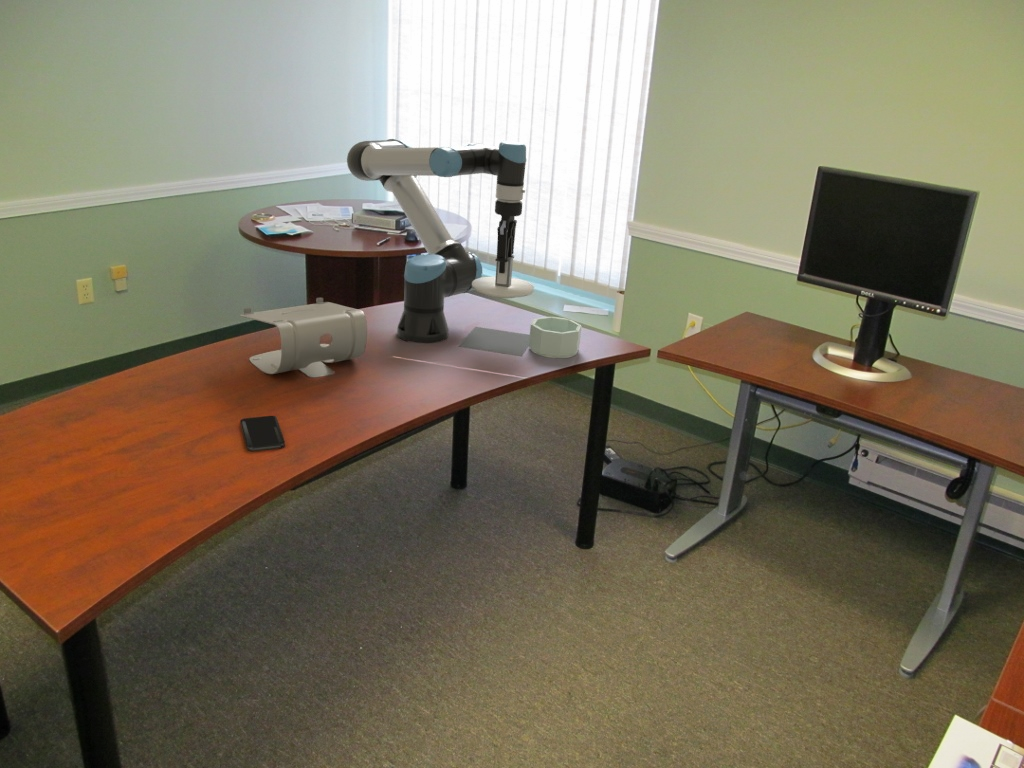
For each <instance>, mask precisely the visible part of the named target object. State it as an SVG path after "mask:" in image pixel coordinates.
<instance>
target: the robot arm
mask: <svg viewBox="0 0 1024 768" xmlns="http://www.w3.org/2000/svg"><path fill="white" fill-rule="evenodd" d="M346 163H347V164H346V165H347V168H348V170H349V172H350V173H351V174H352V175H353V176H354V177H355V178H357V179H359V180H361V181H365V182H366V181H367V182H370V181H379V182H380V183H381V185H382V186H383V189H384V190H385V191H386V192H391V193H392V194H393V196H394V198H395V199H396V202H398V204H399V206H400V207H401V210H402V211H403V213H404V216H406V218H407V220H408V221H409V224H411V226H412V228H413V230H414V231H415V233H416V235H417V237H418V238H419V240H420V242H421V244H422V245H423V246H424V249H425V251H426V252H427V254H423V253H422V254H418V255H415V256H412V257H410V258H409V259H408V260H407V261H406V263H405V267H404V273H403V277H404V278H403V279H404V280H403V281H404V282H403V283H404V285H403V288H404V289H403V293H404V295H403V296H404V297H403V311H402V313H401V316H400V319H399V322H398V324H397V331H396V333H397V334H396V335H397V337H398V338H400V339H401V340H403V341H405V342H410V343H417V344H434V343H439V342H442V341H445V340H447V339H448V337H449V327H448V323H447V319H446V316H445V312H444V311H445V310H444V309H445V308H444V307H445V306H444V305H445V298H450V297H454V296H457V295H461V294H466V293H468V292H471V291H474V289H473V288H472V282H473V281H474V280H475V279H478V278H482V274H483V266H482V262H481V260H480V258H479V257H478V256H477V254H475V253H472V252H470V251H466V249H465V248H464V247H463V245H462V243H461V242H458V241H455V240H454V239H453V237H452V236H451V233H450V232H449V231H448V229H447V228H446V225H445V224H444V223H443V220H442V219H441V217H440V216H439V213H438V212H437V210H436V209H435V207H434V205H433V204H432V202H431V201H430V199H429V197H428V196H427V194H426V192H425V190H424V189H423V187H422V185H421V183H420V182H419V180H418V179H417V176H423V177H424V176H427V177H429V176H431V177H432V176H433V177H434V176H437V177H440V178H452V177H457V176H469V175H477V174H487V175H490V176H491V175H493V176H496V187H495V189H496V190H495V198H496V200H495V204H494V212H495V214H496V215H498V216H501V219H500V220H499V222H498V226H497V229H496V230H497V243H496V244H497V245H496V246H497V247H496V248H497V249H496V258H495V262H497V261H498V273H497V283H499V284H507V271H508V262H507V258H508V257H512V258H513V259H514V258H515V255H514V248H515V241H516V240H515V239H516V238H515V237H516V228H517V223H518V221H517V220H516V219H515V217H520V216H521V215H522V213H523V202H522V201H523V199H524V198H523V197H524V194H525V193H526V189H524V185H525V184H524V183H525V173H526V164H527V146H526V145H525V144H524V143H523V142H518V141H513V140H512V141H511V140H510V141H509V140H503V141H501V142H499V145H498V147H496V146H492V145H486V144H482V143H474V142H473V143H468V144H467V145H465V146H443V147H442V146H441V147H436V146H435V147H413V146H412V145H411V144H410V143H408V142H407V141H405V140H402V139H397V138H395V139H394V138H390V139H386V140H385V139H384V140H363V141H359V142H357V143H355V144H354V145H353V146H352V147H351V148H349V151H348V153H347V157H346Z"/></svg>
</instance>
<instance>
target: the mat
mask: <svg viewBox="0 0 1024 768" xmlns="http://www.w3.org/2000/svg"><path fill="white" fill-rule="evenodd" d="M529 338H530V334H526V333H519V332H513V331H506V330H501V329H496V328H495V329H494V328H487V327H482V326H475V327H473V328H472V330H471V331H470V332H468V334H467V336H466V337H464V338H463V340H462V341H461V342H460V343H459V344H458V345H457V347H460V348H465V349H471V350H472V349H473V350H479V351H485V352H492V353H499V354H504V355H505V354H506V355H512V356H516V357H517V356H518V357H523V355H524V354H525V352H526V351H527V350H528V348H529Z"/></svg>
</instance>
